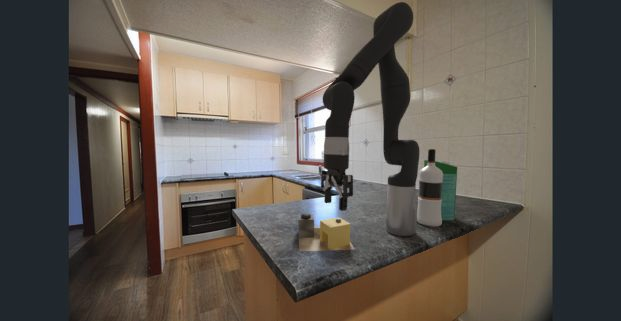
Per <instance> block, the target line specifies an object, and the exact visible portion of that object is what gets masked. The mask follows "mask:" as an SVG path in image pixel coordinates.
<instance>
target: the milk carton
mask: <svg viewBox="0 0 621 321" xmlns="http://www.w3.org/2000/svg"><path fill="white" fill-rule="evenodd" d="M423 162H424V164H423V166H424V167H426V166H427V164H428V159H424V160H423ZM435 166H436V167H437V168H439V169H440V170H441V171H442V172H443V179H442V180H443V182H442V195H441V200H442V202H441V218H442V221H455V218H456V216H455V212H456V199H457V198H456V196H457V180H458V166H455V165H452V164H451V162H449V161H446V160H440V159H439V160H438V161H437V160H435ZM424 167H423V168H424Z"/></svg>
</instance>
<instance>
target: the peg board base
mask: <svg viewBox="0 0 621 321" xmlns="http://www.w3.org/2000/svg"><path fill="white" fill-rule="evenodd" d="M297 216H298V217H297V218H298V219H297V224H298V225H297V226H298V227H297V233H298V250H299V252H324V251H325V252H326V251H327V252H328V251H349V250H350V251H351V250H355V251H356V249H355V247H354V245H353V243H352V242H351V241H350V245H347V246H343V247H339V248H335V249H329V248H328V241H326V242H321V241H320V225H315V218H314V213H313V214H311V213H309V212H303V213H301V214H297Z"/></svg>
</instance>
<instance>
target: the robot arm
mask: <svg viewBox="0 0 621 321" xmlns="http://www.w3.org/2000/svg"><path fill="white" fill-rule="evenodd" d="M413 23H414V12H413V9H412V8H411V6H410V5H409V4H408V3H407V2H405V1H400V2H396V3H393V4H392V5H391V6H389V7H388V8H387V9H386V10H384V11H382V12H381V13H380V14H379V15H378V16H377V17H376V18H375V20H374V22H373V25H372V35H373V37H372V38H371V39H370V40H369V41H368V42H367V43H366V44H365V45H364V46H363V47H362V48H361V49H360V50H359V51H357V53H355V55H354V56H353V57H352V58H351V59H350V61H349V62H348V64H347V65H346V66H345V67H344V69H343V70H342V72H341V73H340V74H339V75H338V76H337V77H336V78H335V79H334V80H333V81H332V82H331V84H330V85H329V86H328V87H327V88H326V89H325V91H324V93H323V94H322V104H323V106H324V107H325V109H327V110H329V111H330V115H329V117H328V118H327V119H326V121H325V123H324V124H325V127H324V142H323V143H324V144H323V169H322V170H321V175H320V176H321V178H320V188H321V189H323V191H324V203H326V204H330V203H332V195H333V193H332V190H333V188H335V191H337V192H338V195H339V200H338V201H339V202H338V210H339V211H340V212H342V211H343V212H344V211H347V209H348V199H349V198H350V197H353V196H354V176H353V174H346V173H347V172H346V171H347V170H348V169H349V168H350V167H349V166H350V139H349V137H350V136H349V135H350V121H351V117H352V114H353V111H354V110H353V109H354V107H355V106H354V105H355V99H356V98H355V91H356V90H357V89H358V88H360V87H361V86H362V85H363V84H364V82H365V81H366V80H367V78H368V77H369V76H370V74H371V73H372V71H373V70H374V69H375V67H376V66H377V65H378V71H379V81H380V82H379V83H380V85H379V86H380V99H381V109H382V120H383V123H382V124H383V136H382V137H383V143H382V144H383V145H382V148H383V151H382V152H383V158H384V160H385V163H387V164H388V165H391V166H398V167H399V166H401V167H400V171H399V172H397V173H395V174H391V175H389V176H388V177H387V188H386V189H387V190H386V191H387V193H386V196H387V197H386V218H385V220H386V222H385V223H386V226H385V230H386V231H387V233H389V234H392V235H395V236H397V237H398V236H399V237H410V236H413V235H417V223H418V222H417V210H418V206H416V205H415V204H416V185H417V178H418V176H419V172H418V171H419V163H420V162H419V161H420V146H419V143H418V142H417V141H416V140H415V139H400V138H399V128H400V124H401V121H402V119H403V118H404V116H405V114H406V112H407V111H408V110H407V109H408V107H409V106H410V102H411V85H410V84H411V83H410V78H409V76H408V74H407V72H406V71H405V70H404V68H403V67H402V66H401V64H400V63H399V61H398V59H397V57H396V51H395V50H396V49H395V44H396V43H397V42H398V41H399V40H400V39H402V38H403V37H404V36H405V35H406V34H407V33H408V32H409V31H410V29H411V28H412V27H413Z"/></svg>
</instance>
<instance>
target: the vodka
mask: <svg viewBox="0 0 621 321" xmlns="http://www.w3.org/2000/svg"><path fill="white" fill-rule="evenodd" d="M427 150H428V151H427V160H428V164H427V166H426V167H422V168H421V169H420V170H418V171H419V172H418V197H417V223H418V224H420V225H423V226H425V227H432V228H433V227H436V228H437V227H440V226H441V225H442V224H443V220H442V218H441V202H442V200H441V195H442V182H443V180H442V179H443V172H442V171H441V170H440V169H439V168H437V167H436V166H435V161H436V149H435V148H430V149H427Z"/></svg>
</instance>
